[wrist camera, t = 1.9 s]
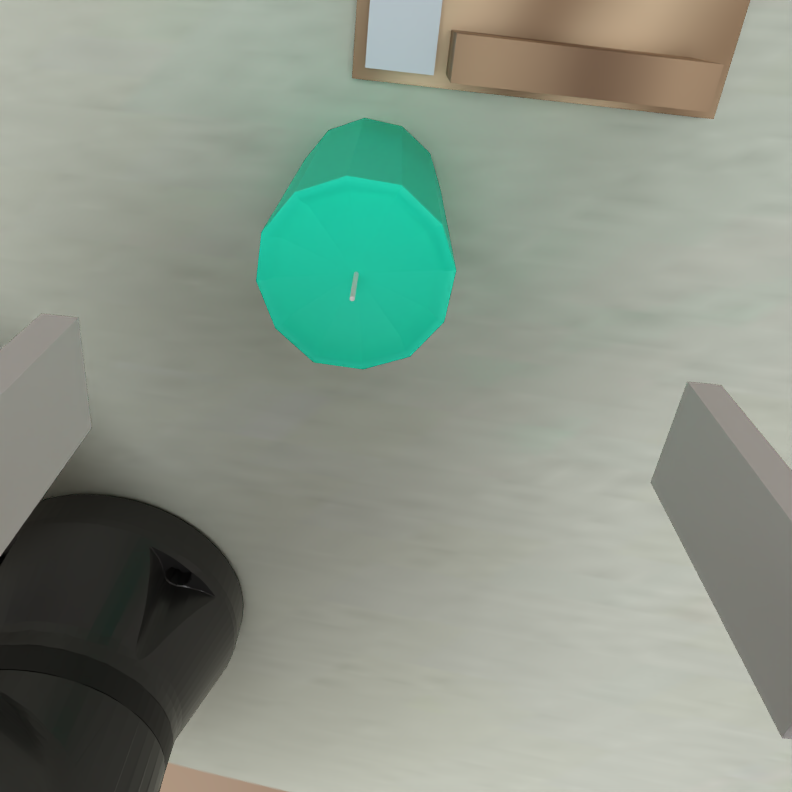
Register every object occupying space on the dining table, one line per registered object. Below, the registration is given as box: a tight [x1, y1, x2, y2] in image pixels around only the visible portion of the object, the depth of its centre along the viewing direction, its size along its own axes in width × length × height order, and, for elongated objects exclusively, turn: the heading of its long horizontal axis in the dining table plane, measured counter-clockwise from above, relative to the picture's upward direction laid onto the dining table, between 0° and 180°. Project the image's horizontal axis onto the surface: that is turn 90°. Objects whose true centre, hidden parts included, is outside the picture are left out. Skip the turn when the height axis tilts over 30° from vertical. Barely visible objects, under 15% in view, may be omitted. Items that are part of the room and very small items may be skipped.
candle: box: [256, 118, 456, 369], centre depth 25 cm, size 6×6×12 cm
